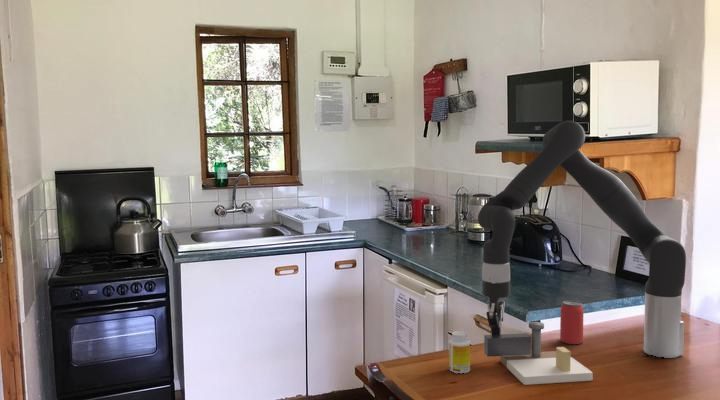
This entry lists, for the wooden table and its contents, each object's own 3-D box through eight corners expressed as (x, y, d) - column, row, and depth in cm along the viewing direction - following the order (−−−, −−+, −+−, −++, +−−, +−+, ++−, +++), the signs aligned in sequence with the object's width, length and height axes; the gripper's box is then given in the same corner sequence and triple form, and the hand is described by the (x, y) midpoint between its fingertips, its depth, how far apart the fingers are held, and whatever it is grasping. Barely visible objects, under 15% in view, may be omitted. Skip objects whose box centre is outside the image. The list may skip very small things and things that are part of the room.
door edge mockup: (562, 357, 172) (563, 319, 171) (592, 380, 155) (593, 337, 154) (500, 361, 169) (500, 322, 168) (524, 384, 153) (524, 341, 152)
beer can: (584, 345, 182) (585, 305, 181) (561, 344, 183) (562, 305, 182) (581, 338, 188) (581, 300, 187) (558, 337, 189) (559, 299, 188)
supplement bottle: (474, 372, 162) (474, 334, 161) (457, 375, 159) (457, 337, 158) (462, 365, 167) (462, 328, 166) (445, 369, 164) (444, 331, 163)
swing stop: (526, 351, 169) (527, 333, 168) (531, 354, 166) (531, 336, 165) (484, 353, 167) (484, 335, 167) (487, 356, 164) (487, 338, 164)
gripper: (488, 272, 175) (488, 331, 177) (476, 282, 163) (476, 345, 165) (514, 274, 172) (514, 334, 174) (505, 284, 160) (504, 349, 162)
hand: (496, 339), depth 170 cm, fingers closed
